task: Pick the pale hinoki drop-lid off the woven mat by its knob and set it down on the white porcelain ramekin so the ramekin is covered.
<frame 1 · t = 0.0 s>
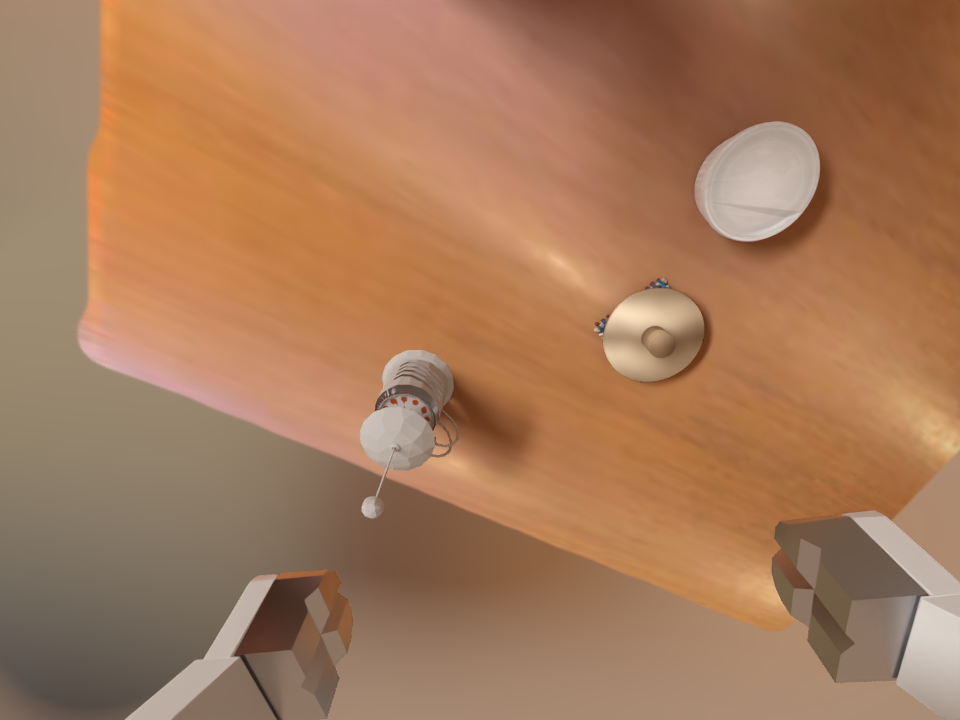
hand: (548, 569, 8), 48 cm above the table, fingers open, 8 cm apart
french press: (424, 385, 61), on the table
drop lid: (651, 335, 55), point 1 cm above the table, touching woven mat
ramekin: (735, 183, 50), on the table
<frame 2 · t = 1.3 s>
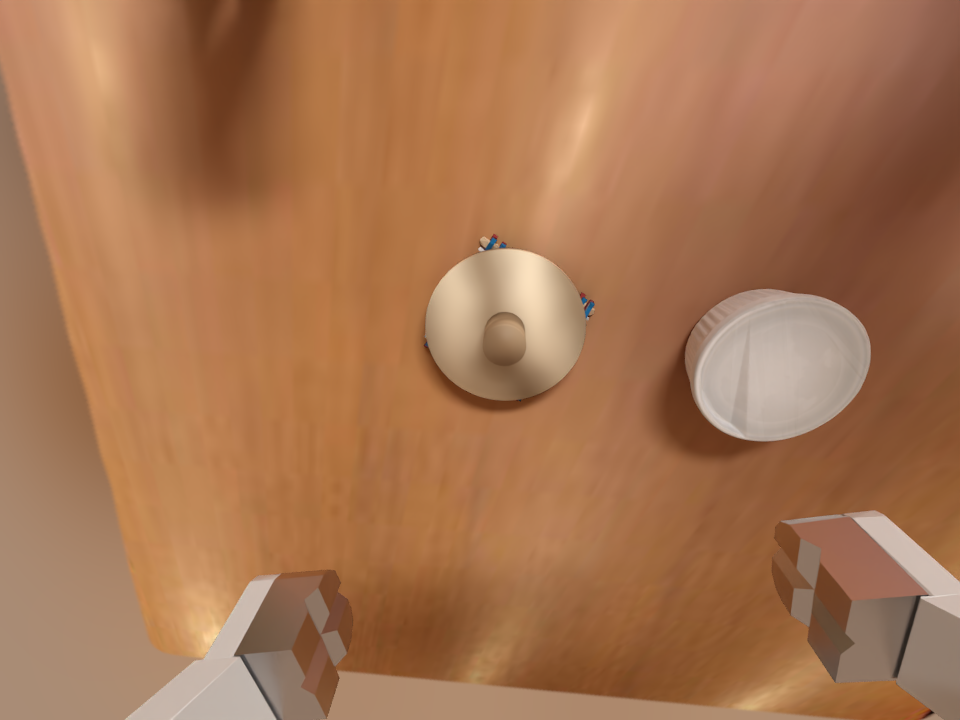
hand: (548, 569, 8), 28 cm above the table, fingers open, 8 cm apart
drop lid: (504, 327, 34), point 1 cm above the table, touching woven mat
ramekin: (743, 344, 36), on the table
woven mat: (506, 319, 36), on the table, touching drop lid
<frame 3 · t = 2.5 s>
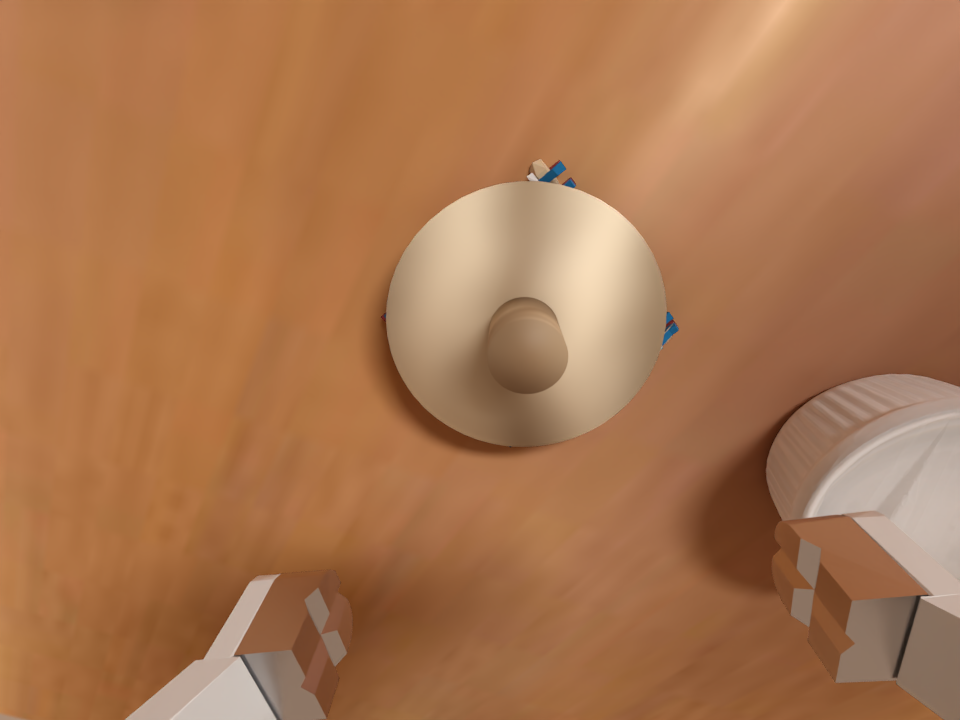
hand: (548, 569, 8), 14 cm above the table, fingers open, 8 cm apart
drop lid: (523, 324, 20), point 1 cm above the table, touching woven mat
ramekin: (852, 447, 24), on the table
woven mat: (525, 313, 22), on the table, touching drop lid
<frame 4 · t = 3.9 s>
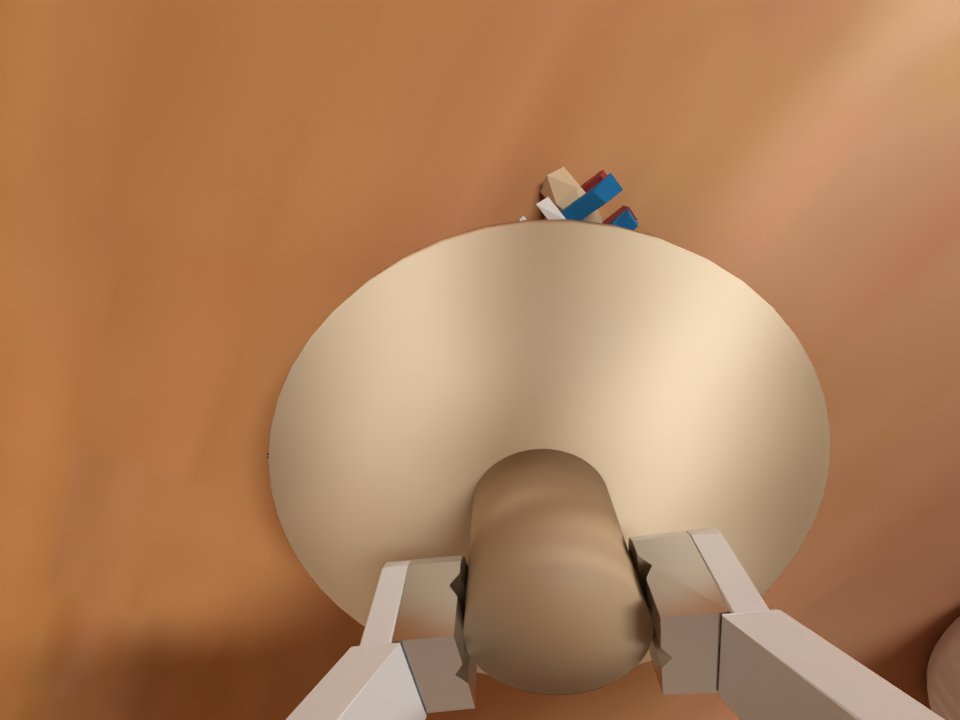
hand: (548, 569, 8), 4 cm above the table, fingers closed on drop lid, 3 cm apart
drop lid: (537, 482, 11), point 1 cm above the table, touching gripper, woven mat
woven mat: (530, 434, 13), on the table, touching drop lid
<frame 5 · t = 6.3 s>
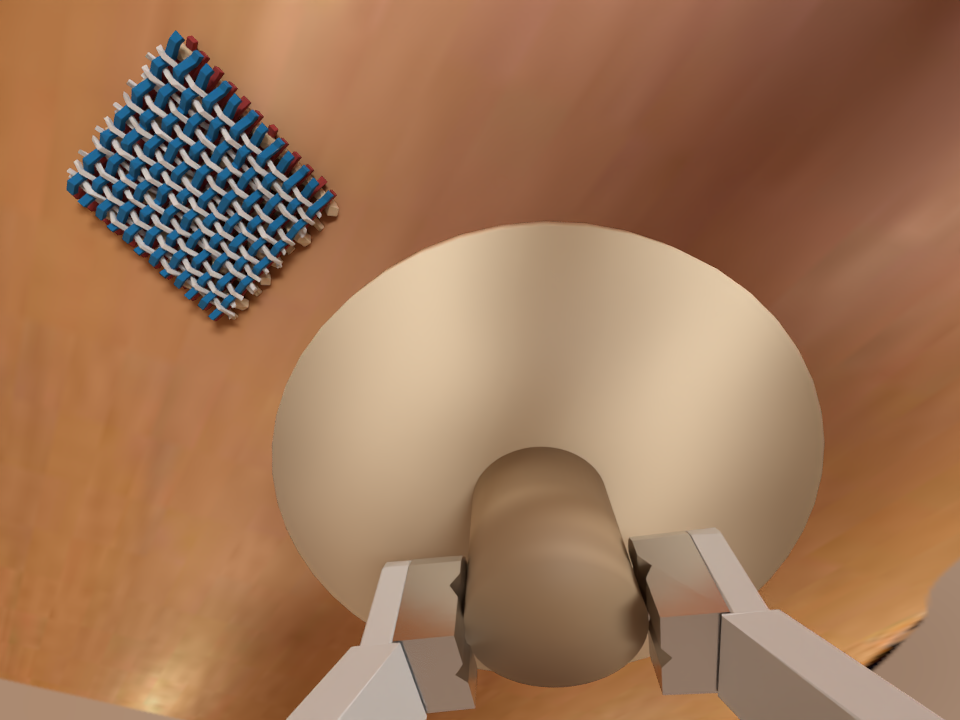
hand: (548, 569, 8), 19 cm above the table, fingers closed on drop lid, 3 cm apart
drop lid: (536, 480, 11), point 16 cm above the table, touching gripper
woven mat: (217, 194, 24), on the table
when the fingers open (8 cm above the table, at t = 8.8 s): drop lid stays where it is, resting on ramekin.
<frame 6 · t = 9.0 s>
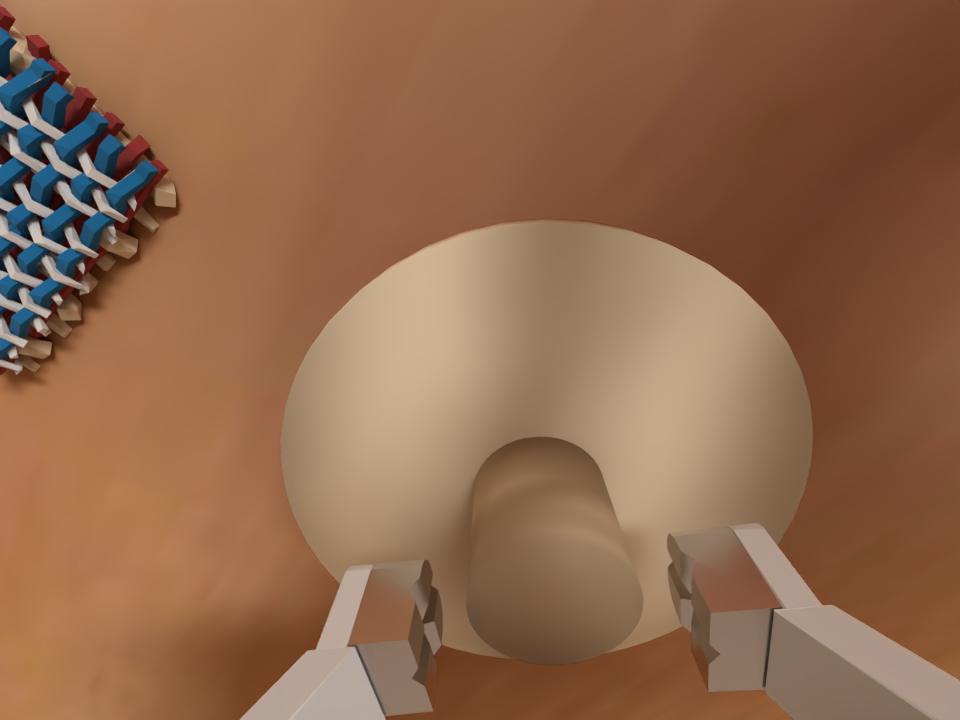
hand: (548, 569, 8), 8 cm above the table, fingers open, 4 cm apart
drop lid: (535, 470, 11), point 5 cm above the table, touching ramekin
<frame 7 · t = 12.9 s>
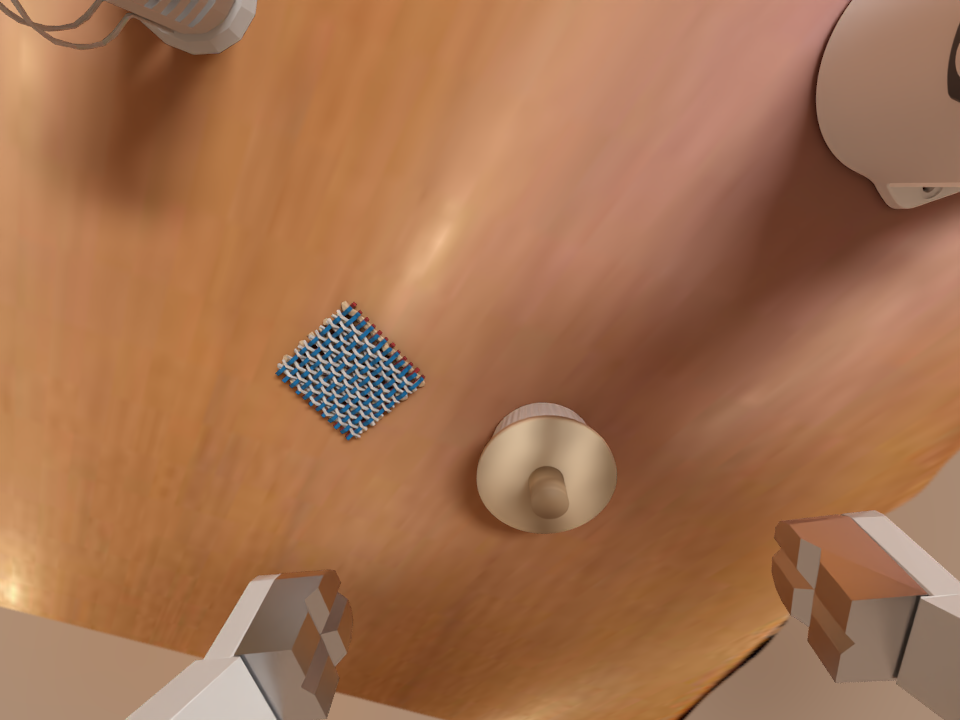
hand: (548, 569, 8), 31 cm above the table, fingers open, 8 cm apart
drop lid: (545, 474, 39), point 5 cm above the table, touching ramekin
ramekin: (540, 440, 44), on the table, touching drop lid
woven mat: (353, 369, 42), on the table
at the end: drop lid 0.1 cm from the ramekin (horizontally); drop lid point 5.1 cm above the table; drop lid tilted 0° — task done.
